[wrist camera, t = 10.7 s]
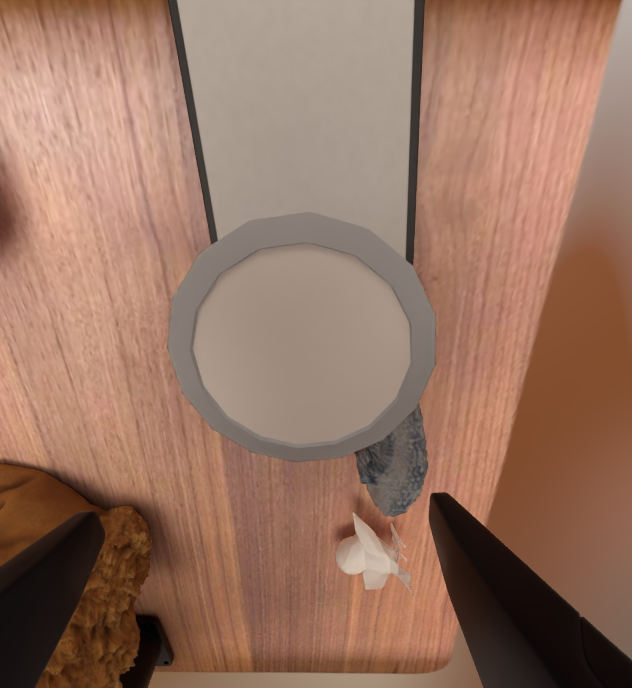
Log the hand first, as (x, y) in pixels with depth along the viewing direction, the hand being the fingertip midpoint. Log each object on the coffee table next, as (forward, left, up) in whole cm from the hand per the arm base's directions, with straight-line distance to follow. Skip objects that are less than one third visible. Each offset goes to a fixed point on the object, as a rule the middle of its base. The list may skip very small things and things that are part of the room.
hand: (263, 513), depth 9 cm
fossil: (-5, -5, -11) cm, 13 cm away
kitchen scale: (+9, -2, -11) cm, 14 cm away
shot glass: (+4, -1, -8) cm, 9 cm away
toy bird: (-15, -4, -11) cm, 19 cm away
